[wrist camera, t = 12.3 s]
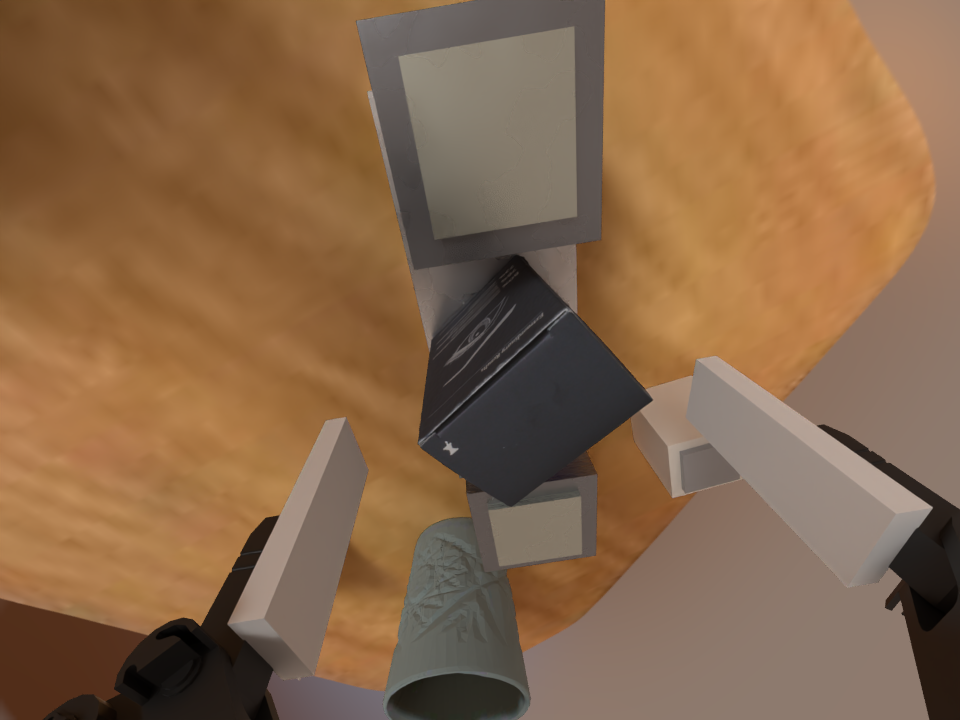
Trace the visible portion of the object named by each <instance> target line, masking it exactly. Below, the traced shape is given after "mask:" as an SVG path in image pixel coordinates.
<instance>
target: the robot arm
mask: <svg viewBox="0 0 960 720" xmlns="http://www.w3.org/2000/svg"><path fill="white" fill-rule="evenodd" d="M686 418H687V420H688V421H689V422H690V423H691V424H692V425H693V426H694V427H695V428H696V429H697V430H698V431H699V432H700V433H701V434H702V435H703V436H704V437H705V438H706V440H707V441H708V442H709V443H710V444H711V445H712V446H713V447H714V448H715V449H716V450H717V451H718V452H719V453H720V454H721V455H722V456H723V457H724V458H725V460H726V461H727V462H728V463H729V464H730V465H731V466H732V467H733V468H734V469H735V470H736V471H737V472H738V473H739V474H740V475H741V476H742V477H743V478H744V479H745V481H746V482H747V483H748V484H749V485H750V486H751V487H752V488H753V489H754V490H755V491H756V492H757V493H758V494H759V495H760V496H761V497H762V498H763V500H764V501H765V502H766V503H767V504H768V505H769V506H770V507H771V508H772V509H773V510H774V511H775V512H776V513H777V514H778V515H779V516H780V517H781V519H782V520H783V521H784V522H785V523H786V524H787V525H788V526H789V527H790V528H791V529H792V530H793V531H794V532H795V533H796V534H797V535H798V536H799V537H800V539H802V541H803V542H804V543H805V544H806V545H807V546H808V547H809V548H810V549H811V550H812V551H813V552H814V553H815V554H816V555H817V556H818V557H819V558H820V560H821V561H822V562H823V563H824V564H825V565H826V566H827V567H828V568H829V569H830V570H831V571H832V572H833V573H834V574H835V575H836V576H837V577H838V579H840V581H841V582H842V583H843V584H844V585H845V586H846V587H853V586H860V585H866V584H871V583H877V582H879V581H880V579H881V578H882V577H883V575H884V574H885V572H886V571H887V570H888V568H891V569H892V570H893V571H894V572H895V573H896V574H897V575H898V576H899V577H901V578H902V580H901V582H900V583H899V584H898V585H897V587H896V588H895V589H894V591H893V592H892V593H891V594H890V596H889V597H888V598H887V599H886V603H885V608H886V609H889V610H893V608H894V607H895V606H896V605H897V604H898V602H899V601H900V600H901V603H902V606H903V612H902V615H904V616H905V619H906V624H907V628H908V632H909V636H910V640H911V645H912V649H913V653H914V657H915V661H916V666H917V670H918V674H919V678H920V682H921V686H922V690H923V695H924V699H925V703H926V707H927V711H928V715H929V720H960V509H958V508H957V507H955V506H954V505H952V504H951V503H949V502H948V501H946V500H945V499H943V498H942V497H940V496H939V495H937V494H936V493H934V492H933V491H931V490H930V489H928V488H927V487H925V486H924V485H922V484H921V483H919V482H918V481H916V480H915V479H913V478H912V477H910V476H909V475H907V474H906V473H904V472H903V471H901V470H900V469H898V468H897V467H895V466H894V465H892V464H891V463H886V461H885V459H883V458H882V457H880V456H879V455H877V454H876V453H874V452H873V451H871V452H870V451H869V450H868V448H867V447H865V446H864V445H862V444H861V443H859V442H858V441H856V440H855V439H853V438H852V437H850V436H849V435H847V434H845V433H842V432H840V431H838V430H835V429H833V428H831V427H829V426H826V425H818V426H816V425H814V424H813V423H811V422H810V421H809V420H807V419H806V418H804V417H803V416H802V415H800V414H799V413H797V412H796V411H794V410H793V409H792V408H790V407H789V406H787V405H786V404H785V403H783V402H782V401H780V400H779V399H777V398H776V397H775V396H773V395H772V394H770V393H769V392H767V391H766V390H765V389H763V388H762V387H760V386H759V385H757V384H756V383H755V382H753V381H752V380H750V379H749V378H747V377H746V376H745V375H743V374H742V373H740V372H739V371H737V370H736V369H735V368H733V367H732V366H730V365H729V364H728V363H726V362H725V361H723V360H722V359H720V358H719V357H718V356H712V357H706V358H700V359H696V363H695V368H694V374H693V379H692V385H691V390H690V396H689V401H688V407H687V412H686ZM367 474H368V468H367V465H366V463H365V460H364V458H363V456H362V453H361V451H360V448H359V446H358V444H357V441H356V439H355V436H354V434H353V432H352V429H351V427H350V425H349V422H348V420H347V417H343V418H337V419H331V420H326V421H325V423H324V425H323V428H322V430H321V432H320V434H319V436H318V438H317V440H316V442H315V444H314V446H313V448H312V450H311V452H310V454H309V456H308V458H307V461H306V463H305V465H304V467H303V469H302V471H301V473H300V475H299V477H298V479H297V481H296V483H295V485H294V487H293V489H292V492H291V494H290V496H289V498H288V500H287V502H286V504H285V506H284V508H283V510H282V512H281V514H280V515H279V516H273V517H267V518H265V519H264V520H263V521H262V522H261V523H260V525H259V526H258V527H257V528H256V529H255V530H254V531H253V532H252V533H251V535H250V536H249V538H248V540H247V542H246V544H245V545H244V547H243V549H242V551H241V553H240V554H241V555H240V557H238V558H237V560H236V562H235V564H234V566H233V568H232V572H231V573H229V575H228V577H227V579H226V581H225V583H224V584H223V586H222V588H221V590H220V592H219V594H218V595H217V597H216V599H215V601H214V603H213V605H212V607H211V608H210V610H209V612H208V614H207V616H206V618H205V620H204V621H203V623H202V625H201V627H200V626H199V625H198V624H197V623H196V622H195V621H194V620H193V619H188V618H180V619H176V620H173V621H170V622H168V623H166V624H165V625H163V626H161V627H159V628H158V629H156V630H155V631H153V632H152V633H151V634H150V635H149V636H148V637H147V638H145V639H144V640H143V641H142V642H141V643H140V644H139V645H138V646H137V647H136V648H135V649H134V651H133V652H132V653H131V654H130V655H129V656H128V658H127V659H126V661H125V663H124V664H123V666H122V668H121V669H120V671H119V673H118V675H117V679H116V683H115V687H114V689H115V690H116V691H118V692H119V693H121V694H119V695H117V696H115V697H114V698H111V699H109V700H107V701H104V700H102V699H100V698H99V697H97V696H95V695H81V696H78V697H76V698H73V699H71V700H69V701H67V702H65V703H64V704H62V705H61V706H60V707H58V708H57V709H55V710H54V711H52V712H51V713H50V714H48V715H47V716H46V717H45V718H44V719H43V720H279V717H278V714H277V711H276V708H275V705H274V702H273V699H272V696H271V694H270V693H269V691H268V690H267V686H268V683H269V680H270V677H271V674H272V671H274V672H275V673H276V674H277V675H278V676H279V677H280V678H281V679H282V680H283V681H284V680H290V679H296V678H302V677H307V676H314V674H315V670H316V667H317V663H318V659H319V655H320V651H321V648H322V644H323V640H324V636H325V632H326V629H327V625H328V621H329V617H330V614H331V610H332V606H333V602H334V598H335V595H336V591H337V587H338V583H339V580H340V576H341V572H342V568H343V564H344V561H345V557H346V553H347V549H348V545H349V542H350V538H351V534H352V530H353V527H354V523H355V519H356V515H357V511H358V508H359V504H360V500H361V496H362V493H363V489H364V485H365V481H366V477H367Z"/></svg>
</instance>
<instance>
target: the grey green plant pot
mask: <svg viewBox="0 0 960 720" xmlns="http://www.w3.org/2000/svg"><path fill="white" fill-rule="evenodd" d="M506 575H507V569H503V570H496V571H490V572H485V571H484V567H483V563H482V558H481V554H480V550H479V545H478V541H477V537H476V533H475V528H474V524H473V520H472V518H451V519H446V520H443V521H439V522H437V523H435V524H433V525H431V526H430V527H428V528H427V529H426V530H424V532H423V533H422V534H421V535H420V537H419V539H418V541H417V544H416V547H415V552H414V557H413V563H412V569H411V574H410V577H409V583H408V585H407V594H406V597H405V600H404V608H403V610H402V614H401V621H400V625H399V631H398V639H399V640H398V643H397V645H396V648H395V650H394V653H393V659H392V663H391V667H390V672H389V676H388V681H387V685H386V690H385V694H384V699H383V709H384V712H385V715H386V716H387V717H388V719H389V720H517V719H519V718H520V717H521V716H523V715H524V713H525V712H526V711H527V710H528V707H529V706H530V700H531V697H530V692H529V687H528V682H527V676H526V671H525V665H524V660H523V655H522V650H521V647H520V643H519V634H518V628H517V622H516V619H515V616H516V613H515V606H514V602H513V599H512V591H511V587H510V584H509V579H508V578H507V576H506Z"/></svg>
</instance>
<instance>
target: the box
mask: <svg viewBox="0 0 960 720" xmlns="http://www.w3.org/2000/svg"><path fill="white" fill-rule="evenodd" d="M652 401H653V399H652V397H651V396H650V395H649V393H648V392H647V391H646V390H645V388H644V387H643V386H642V385H641V384H640V383H639V382H638V381H637V380H636V379H635V377H634V376H633V375H632V374H631V373H630V372H629V371H628V369H627V368H626V367H625V366H624V365H623V364H622V363H621V362H620V361H619V359H618V358H617V357H616V356H615V355H614V354H613V353H612V351H611V350H610V349H609V348H608V347H607V346H606V345H605V344H604V343H603V342H602V341H601V339H600V338H599V337H598V336H597V335H596V334H595V333H594V332H593V331H592V330H591V329H590V328H589V327H588V326H587V324H586V323H585V322H584V321H583V320H582V319H581V318H580V317H579V316H578V315H577V314H576V313H575V312H574V311H573V310H572V309H571V308H570V307H569V305H568V304H567V303H565V302H564V300H562V298H561V297H560V296H559V295H558V294H557V293H556V292H555V291H554V290H553V289H552V288H551V287H550V286H549V285H548V284H547V283H546V282H545V281H544V280H543V279H542V278H541V277H540V276H539V274H537V272H536V271H535V270H534V269H533V268H532V267H531V266H530V265H529V263H528V261H527V260H525V257H523V256H520V255H515V256H513V258H512V259H511V260H510V261H509V262H508V263H507V264H506V265H505V266H504V267H503V268H502V269H501V270H500V271H499V272H498V273H497V274H496V275H495V276H494V277H493V278H492V279H491V280H490V281H489V282H488V283H487V284H486V285H485V286H484V287H483V288H482V289H481V290H480V291H479V292H478V293H477V294H476V295H475V296H474V297H473V298H472V299H471V300H470V301H469V302H468V303H467V304H466V305H465V306H464V307H463V308H462V310H461V311H459V313H458V314H457V315H456V316H455V317H454V318H453V319H452V320H451V321H450V322H449V323H448V324H447V325H446V326H445V327H444V328H443V329H442V330H441V331H440V332H439V333H438V334H437V335H436V336H435V337H434V338H433V339H432V340H431V347H430V354H429V363H428V369H427V377H426V384H425V392H424V399H423V408H422V413H421V422H420V428H419V439H418V445H420V447H421V448H422V449H423V450H424V451H426V452H427V453H428V454H430V455H431V456H433V457H434V458H435V459H437V460H438V461H439V462H441V463H442V464H443V465H445V466H446V467H448V468H449V469H451V470H452V471H454V472H455V473H457V474H458V475H460V476H461V477H462V478H464V479H466V480H467V481H468V482H470V483H471V484H473V485H475V486H476V487H478V488H480V489H481V490H483V491H484V492H486V493H487V494H489V495H490V496H492V497H494V498H495V499H497V500H499V501H501V502H502V503H504V504H506V505H508V506H509V507H512V506H514V505H515V504H516V503H518V502H519V501H520V500H521V499H523V498H524V497H526V496H527V495H528V494H529V493H531V492H532V491H533V490H535V489H536V488H537V487H539V486H540V485H541V484H543V483H544V482H545V481H547V480H548V479H549V478H551V477H552V476H553V475H555V474H556V473H557V472H558V471H560V470H561V469H563V468H564V467H565V466H567V465H568V464H569V463H571V462H572V461H573V460H574V459H576V458H577V457H579V456H580V455H581V454H583V453H584V452H585V451H586V450H588V449H589V448H590V447H592V446H593V445H594V444H596V443H597V442H598V441H600V440H601V439H603V438H604V437H605V436H606V435H608V434H609V433H610V432H612V431H613V430H614V429H616V428H617V427H618V426H620V425H621V424H622V423H624V422H625V421H626V420H628V419H629V418H630V417H632V416H633V415H634V414H636V413H637V412H639V411H640V410H641V409H642V408H644V407H645V406H646V405H648V404H649V403H650V402H652Z"/></svg>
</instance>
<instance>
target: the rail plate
mask: <svg viewBox="0 0 960 720" xmlns="http://www.w3.org/2000/svg"><path fill="white" fill-rule="evenodd" d="M356 24H357V28H358V32H359V37H360V41H361V45H362V49H363V54H364V58H365V62H366V67H367V71H368V75H369V79H370V84H371V88H372V91H367V93H368V98H369V102H370V106H371V110H372V114H373V118H374V123H375V127H376V131H377V135H378V139H379V143H380V148H381V152H382V156H383V160H384V164H385V169H386V173H387V177H388V181H389V185H390V189H391V194H392V198H393V202H394V206H395V210H396V214H397V219H398V223H399V227H400V231H401V235H402V239H403V244H404V248H405V252H406V256H407V260H408V265H409V269H410V273H411V277H412V281H413V285H414V290H415V294H416V298H417V302H418V306H419V310H420V315H421V319H422V323H423V327H424V331H425V335H426V340H427V344H428V348H429V352H430V347H431V340H432V339H433V338H434V337H435V336H436V335H437V334H438V333H439V332H440V331H441V330H442V329H443V328H444V327H445V326H446V325H447V324H448V323H449V322H450V321H451V320H452V319H453V318H454V317H455V316H456V315H457V314H458V313H459V311H461V310H462V308H463V307H464V306H465V305H466V304H467V303H468V302H469V301H470V300H471V299H472V298H473V297H474V296H475V295H476V294H477V293H478V292H479V291H480V290H481V289H482V288H483V287H484V286H485V285H486V284H487V283H488V282H489V281H490V280H491V279H492V278H493V277H494V276H495V275H496V274H497V273H498V272H499V271H500V270H501V269H502V268H503V267H504V266H505V265H506V264H507V263H508V262H509V261H510V260H511V259H512V258H513V256H515V255H520V256H523V257H525V260H527V261H528V263H529V265H530V266H531V267H532V268H533V269H534V270H535V271H536V272H537V274H539V276H540V277H541V278H542V279H543V280H544V281H545V282H546V283H547V284H548V285H549V286H550V287H551V288H552V289H553V290H554V291H555V292H556V293H557V294H558V295H559V296H560V297H561V298H562V300H564V302H565V303H567V304H568V305H569V307H570V308H571V309H572V310H573V311H574V312H575V313H576V314H577V260H576V244H579V243H585V242H591V241H598V240H601V215H602V152H603V90H604V27H605V0H474V1H468V2H463V3H457V4H451V5H445V6H439V7H434V8H428V9H422V10H416V11H410V12H405V13H399V14H393V15H387V16H381V17H376V18H370V19H364V20H358V21H356ZM459 477H460V478H462V477H461V476H460V475H459ZM466 492H467V498H468V503H469V507H470V511H471V515H472V520H473V524H474V528H475V533H476V537H477V541H478V545H479V550H480V554H481V558H482V563H483V567H484V571H485V572H490V571H496V570H503V569H510V568H516V567H523V566H530V565H536V564H543V563H550V562H556V561H563V560H570V559H576V558H583V557H590V556H596V527H597V473H596V470H595V468H594V466H593V464H592V462H591V460H590V458H589V456H588V454H587V452H586V451H585V452H584V453H583V454H581V455H580V456H579V457H577V458H576V459H574V460H573V461H572V462H571V463H569V464H568V465H567V466H565V467H564V468H563V469H561V470H560V471H558V472H557V473H556V474H555V475H553V476H552V477H551V478H549V479H548V480H547V481H545V482H544V483H543V484H541V485H540V486H539V487H537V488H536V489H535V490H533V491H532V492H531V493H529V494H528V495H527V496H526V497H524V498H523V499H521V500H520V501H519V502H518V503H516V504H515V505H514V506H512V507H509V506H508V505H506V504H504V503H502V502H501V501H499V500H497V499H495V498H494V497H492V496H490V495H489V494H487V493H486V492H484V491H483V490H481V489H480V488H478V487H476V486H475V485H473V484H471V483H470V482H468V481H467V480H466Z"/></svg>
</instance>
